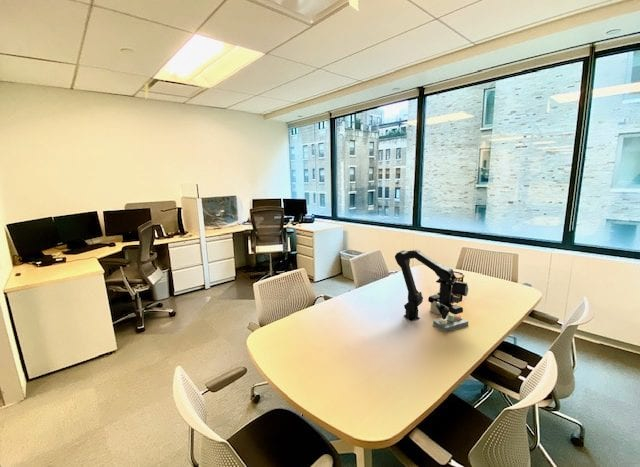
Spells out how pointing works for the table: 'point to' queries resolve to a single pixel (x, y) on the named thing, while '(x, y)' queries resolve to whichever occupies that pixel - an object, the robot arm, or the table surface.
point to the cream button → (443, 321)
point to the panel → (450, 324)
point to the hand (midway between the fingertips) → (444, 319)
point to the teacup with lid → (434, 306)
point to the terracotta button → (457, 317)
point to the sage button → (450, 318)
